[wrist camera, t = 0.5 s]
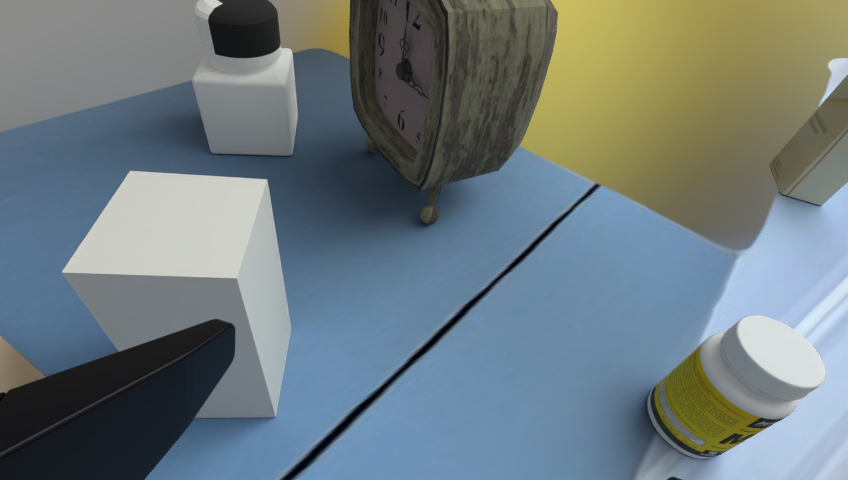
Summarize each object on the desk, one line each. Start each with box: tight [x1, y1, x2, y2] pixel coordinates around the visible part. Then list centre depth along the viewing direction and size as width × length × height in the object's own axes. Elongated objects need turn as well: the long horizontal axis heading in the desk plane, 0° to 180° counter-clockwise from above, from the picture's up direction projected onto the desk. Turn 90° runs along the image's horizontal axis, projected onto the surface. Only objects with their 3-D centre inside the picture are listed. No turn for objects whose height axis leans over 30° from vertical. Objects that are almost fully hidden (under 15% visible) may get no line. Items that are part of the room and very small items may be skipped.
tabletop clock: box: [349, 0, 558, 224], centre depth 32 cm, size 14×9×25 cm, turn 30°
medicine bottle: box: [192, 0, 298, 156], centre depth 38 cm, size 7×7×12 cm
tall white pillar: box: [62, 171, 291, 418], centre depth 21 cm, size 6×6×12 cm
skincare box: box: [769, 75, 848, 206], centre depth 44 cm, size 6×4×12 cm
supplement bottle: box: [647, 316, 825, 459], centre depth 24 cm, size 5×5×8 cm
